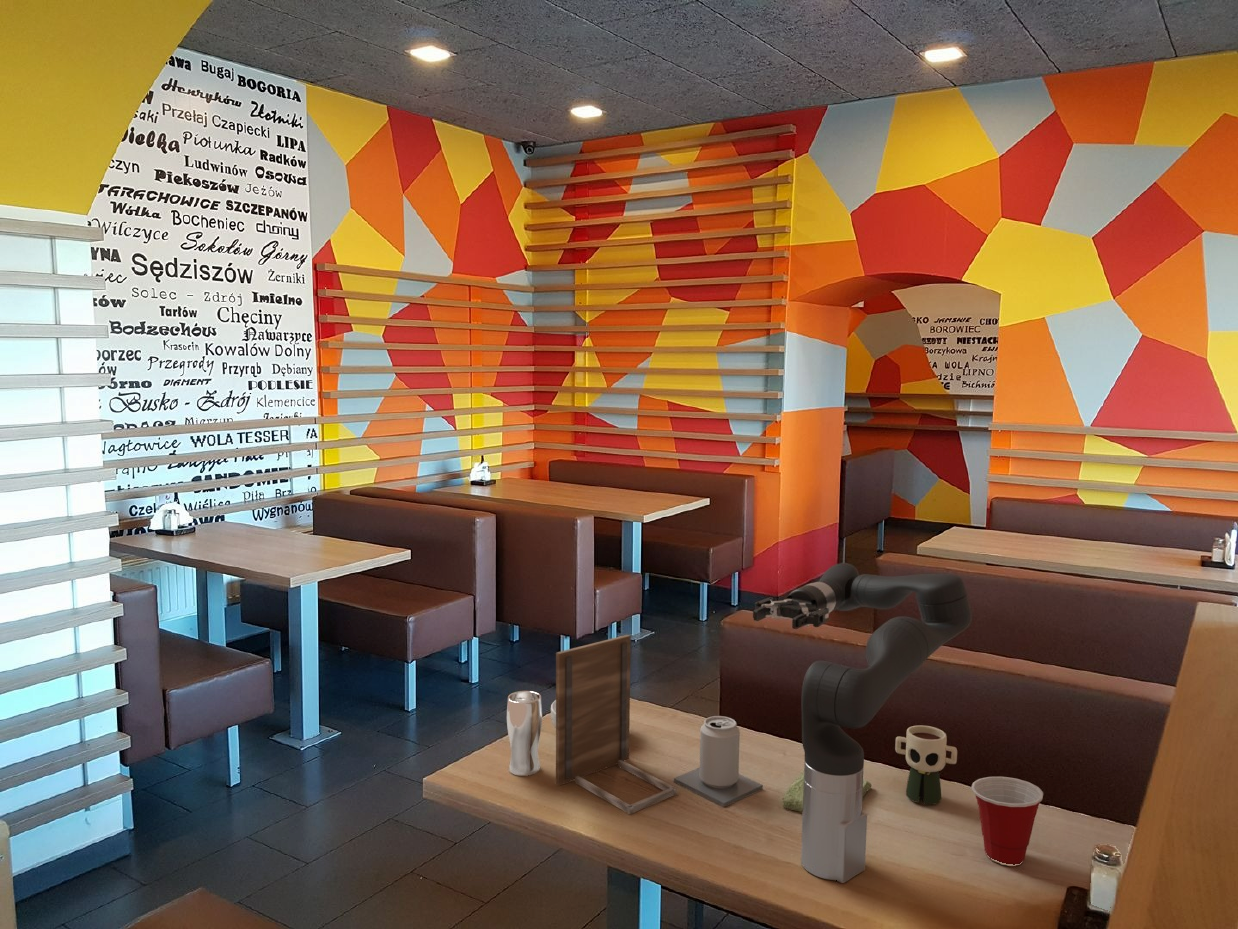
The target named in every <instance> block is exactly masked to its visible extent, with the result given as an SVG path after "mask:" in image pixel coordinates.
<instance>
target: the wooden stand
mask: <svg viewBox="0 0 1238 929" xmlns="http://www.w3.org/2000/svg"><path fill="white" fill-rule="evenodd" d="M555 700H556V728H555V785H556V786H558V785H560V786H562V785H565V784H567V783H571V782H573V781H574V783H575V784H576V785H578V786H579V787H581V788H583V789H585V790H587V791H588V792H590V793H592V794H594V795H595V796H597V797H599V798H601V799H602V800H604V801H606V802H608V803H609V804H610V805H613V806H615V807H616V808H618V809H620V810H622V811H623V812H625V813H626V814H628V815H632V814H634V813H637V812H639V811H640V810H643V809H645V808H648V807H650V806H653V805H655V804H658V803H660V802H662V801H664V800H667V799H669V798H671V797H673V796H677V795H678V788H677V787H676V786H673V785H671V784H669V782H668V783H667V782H665V781H664V780H662V779H660V778H657V777H656V776H653V775H652V774H650V773H648V772H646V771H645V770H642V769H640V768H638V767H636V766H634V765H633V764H630V763H628V762H626V761H628V759H629V760H630V722H631V720H630V719H631V718H630V713H631V712H630V710H631V702H630V701H631V635H629V634H625V635H621V636H616V637H613V638H609V639H605V640H601V641H597V642H593V643H589V644H585V645H582V646H577V647H573V648H570V649H569V648H568V649H565V650H562V651H557V652H555ZM624 760H626V761H624ZM615 764H616V765H617V767H618V768H620V767H621V768H620V769H622V770H624V771H626V772H627V771H628V773H630V774H631V773H633V774H634V775H633V774H632V775H633V776H635V775H636V776H635V777H637V778H639V779H641V780H643V781H645V782H647V783H649V784H651V785H653V786H654V785H655V786H654V787H657V788H658V789H660V790H662V791H659V792H658V793H655V794H653V795H651V796H648V797H646V798H643V799H641V800H638V801H635V802H634V803H632V804H629V803H628V802H626V801H624V800H622V799H621V798H619V797H617V796H615V795H613V794H611V793H609V792H608V791H607V790H605V789H603V788H601V787H599V786H597V785H596V784H593V783H592V782H590V781H589V780H587V779H585V778H584V777H586V776H589V775H592V774H594V773H598V772H599V771H602V770H604V769H607V768H606V767H608V768H610V767H613V766H615Z"/></svg>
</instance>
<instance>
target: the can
mask: <svg viewBox="0 0 1238 929" xmlns="http://www.w3.org/2000/svg"><path fill="white" fill-rule="evenodd" d="M737 725H738V724H737V721H735V719H733V718H731V717H728V716H723V715H714V716H710V717H707V718H705V719H704V720H703V724H702V725H701V727H700V729H699V731H700V736H699V737H700V739H699V767H700V774H699V775H700V779H701V780H702V781H703V782H704V783H705V784H706V785H708V786H710V787H713V788H728V787H731V786H732V785H733V784H734V783H736V782H737V781H738V778H739V774H740V773H739V771H740V739H741V738H740V736H741V735H740V734H741V732H740V729H739V727H738V726H737Z"/></svg>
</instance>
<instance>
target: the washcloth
mask: <svg viewBox="0 0 1238 929" xmlns="http://www.w3.org/2000/svg"><path fill="white" fill-rule="evenodd" d="M871 788H872V783H871V782H870V781H868V780H866V779H865V778H863V793H862V799H863V798H864V796H866V793H867V792H868V790H869V789H871ZM803 789H804V770H803V771H802V773H800V775H799V776H798V777H797V778H796V779H795V780H794V782H793V783H792V784H790V786H789V787H788V788H787V789H786V791H785V793H784V795H783V798H782V801H781V803H782V806H783V808H785V809H787V810H791V809H792V811H796V812H799V813H802V814H803Z"/></svg>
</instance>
